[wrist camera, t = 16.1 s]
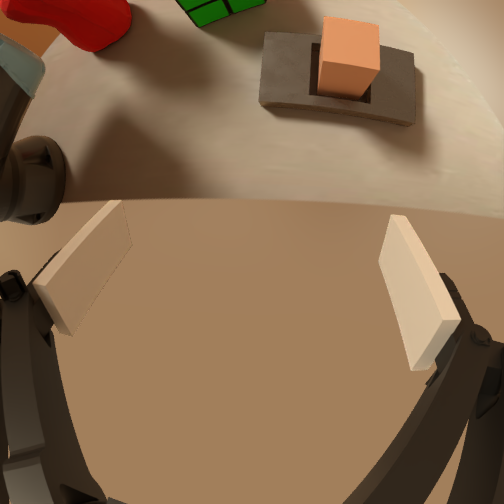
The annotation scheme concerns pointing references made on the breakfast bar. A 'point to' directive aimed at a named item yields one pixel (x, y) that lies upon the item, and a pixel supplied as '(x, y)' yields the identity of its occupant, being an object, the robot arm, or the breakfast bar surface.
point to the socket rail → (297, 96)
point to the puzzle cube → (214, 9)
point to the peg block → (347, 58)
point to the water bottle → (75, 19)
